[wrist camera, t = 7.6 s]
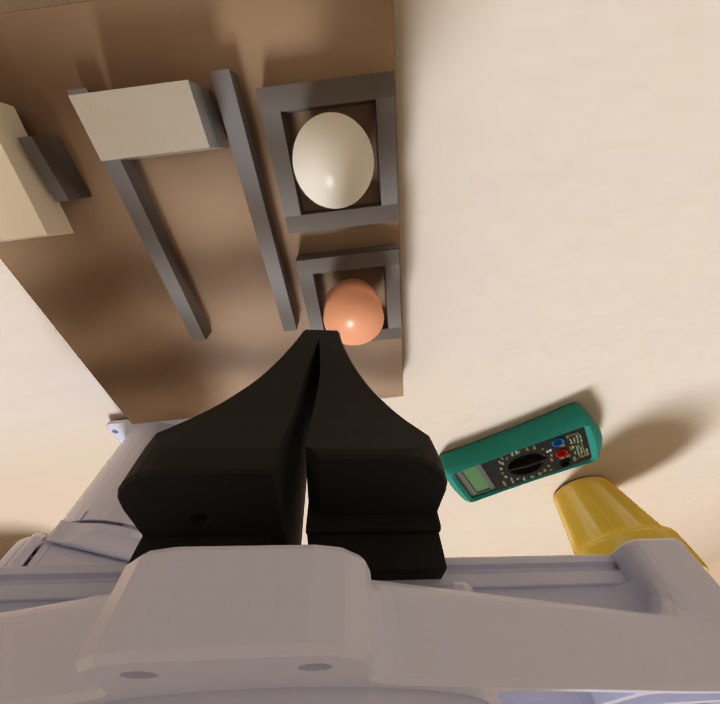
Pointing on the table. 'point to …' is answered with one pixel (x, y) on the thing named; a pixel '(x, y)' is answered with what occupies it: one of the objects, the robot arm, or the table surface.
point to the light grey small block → (151, 120)
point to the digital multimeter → (523, 453)
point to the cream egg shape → (333, 160)
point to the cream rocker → (24, 188)
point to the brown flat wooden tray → (205, 192)
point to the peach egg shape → (354, 311)
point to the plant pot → (605, 518)
